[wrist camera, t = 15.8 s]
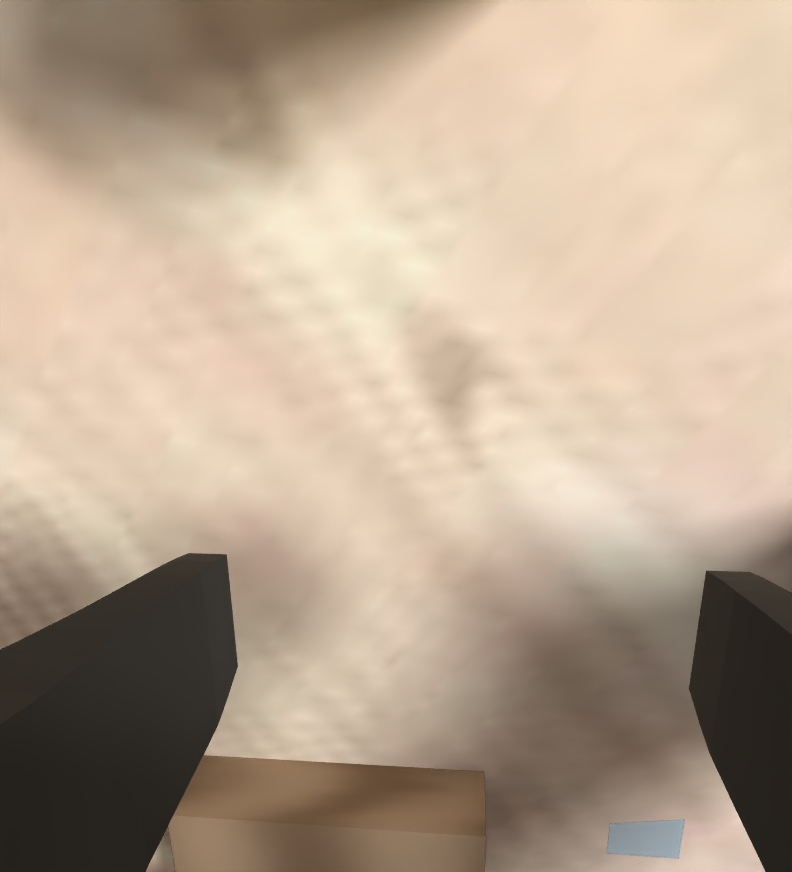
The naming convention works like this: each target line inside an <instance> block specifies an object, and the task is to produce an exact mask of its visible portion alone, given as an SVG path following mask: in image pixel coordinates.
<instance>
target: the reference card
mask: <svg viewBox="0 0 792 872" xmlns="http://www.w3.org/2000/svg"><path fill="white" fill-rule="evenodd" d="M684 821H685V819H684V820H667V821H649V822H631V823H614V824H610V829H609V838H608V847H607V853H608V854H622V855H636V856H650V857H664V858H677V859H679V854H680V847H681V840H682V834H683V827H684Z"/></svg>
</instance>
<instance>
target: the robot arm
mask: <svg viewBox="0 0 792 872" xmlns="http://www.w3.org/2000/svg"><path fill="white" fill-rule="evenodd" d="M237 667H238V664H237V654H236V644H235V634H234V624H233V614H232V604H231V594H230V584H229V574H228V564H227V555H225V554H195V553H188V554H186V555H183V556H181V557H178V558H176V559H174V560H172V561H170V562H168V563H166V564H164V565H162V566H160V567H158V568H156V569H154V570H153V571H151V572H149V573H147V574H145V575H143V576H142V577H140V578H138V579H136V580H134V581H132V582H131V583H129V584H127V585H125V586H123V587H121V588H120V589H118V590H116V591H114V592H112V593H111V594H109V595H107V596H105V597H103V598H101V599H100V600H98V601H96V602H94V603H92V604H90V605H89V606H87V607H85V608H83V609H81V610H79V611H77V612H75V613H73V614H71V615H69V616H67V617H65V618H63V619H61V620H59V621H57V622H55V623H53V624H51V625H49V626H48V627H46V628H44V629H42V630H40V631H38V632H36V633H34V634H32V635H30V636H28V637H26V638H24V639H22V640H20V641H18V642H16V643H14V644H11V645H9V646H7V647H5V648H3V649H1V650H0V872H146V869H147V867H148V865H149V863H150V861H151V859H152V857H153V855H154V853H155V851H156V849H157V847H158V845H159V843H160V841H161V839H162V837H163V835H164V833H165V831H166V829H167V827H168V825H169V823H170V821H171V819H172V817H173V815H174V813H175V811H176V809H177V807H178V805H179V803H180V801H181V799H182V797H183V795H184V793H185V791H186V789H187V787H188V785H189V783H190V781H191V779H192V777H193V775H194V773H195V771H196V769H197V767H198V765H199V763H200V761H201V759H202V757H203V755H204V753H205V751H206V749H207V747H208V745H209V742H210V740H211V738H212V736H213V734H214V732H215V730H216V728H217V726H218V723H219V721H220V718H221V715H222V712H223V709H224V706H225V704H226V701H227V698H228V695H229V692H230V689H231V686H232V683H233V679H234V676H235V673H236V670H237ZM689 690H690V693H691V697H692V700H693V703H694V706H695V710H696V713H697V716H698V720H699V723H700V726H701V729H702V732H703V735H704V738H705V741H706V744H707V747H708V750H709V753H710V755H711V757H712V759H713V762H714V764H715V766H716V768H717V770H718V772H719V775H720V777H721V779H722V781H723V783H724V785H725V787H726V790H727V792H728V794H729V796H730V798H731V800H732V802H733V804H734V807H735V809H736V811H737V813H738V815H739V817H740V819H741V821H742V823H743V825H744V828H745V830H746V832H747V834H748V836H749V838H750V840H751V842H752V844H753V846H754V848H755V850H756V853H757V855H758V857H759V859H760V861H761V863H762V865H763V867H764V869H765V871H766V872H792V593H790V592H788V591H786V590H785V589H783V588H781V587H779V586H777V585H775V584H774V583H772V582H770V581H768V580H766V579H764V578H762V577H760V576H757V575H755V574H753V573H750V572H727V571H706V575H705V582H704V589H703V596H702V603H701V610H700V617H699V623H698V630H697V637H696V644H695V651H694V658H693V665H692V672H691V679H690V685H689Z"/></svg>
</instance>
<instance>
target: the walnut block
mask: <svg viewBox="0 0 792 872" xmlns="http://www.w3.org/2000/svg"><path fill="white" fill-rule="evenodd" d="M168 828H169V834H170V840H171V846H172V853H173V859H174V865H175V872H485V858H486V819H485V790H484V772H483V771H465V770H448V769H431V768H413V767H396V766H379V765H361V764H344V763H327V762H309V761H292V760H275V759H257V758H240V757H222V756H205V755H203V757H202V759H201V761H200V763H199V765H198V767H197V769H196V771H195V773H194V775H193V777H192V779H191V781H190V783H189V785H188V787H187V789H186V791H185V793H184V795H183V797H182V799H181V801H180V803H179V805H178V807H177V809H176V811H175V813H174V815H173V817H172V819H171V821H170V823H169V825H168Z"/></svg>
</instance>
